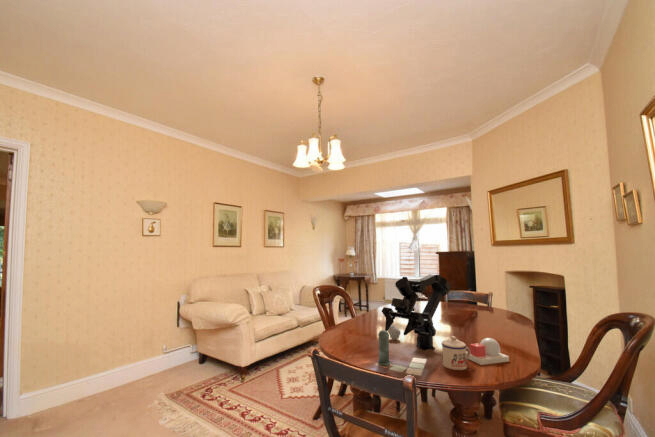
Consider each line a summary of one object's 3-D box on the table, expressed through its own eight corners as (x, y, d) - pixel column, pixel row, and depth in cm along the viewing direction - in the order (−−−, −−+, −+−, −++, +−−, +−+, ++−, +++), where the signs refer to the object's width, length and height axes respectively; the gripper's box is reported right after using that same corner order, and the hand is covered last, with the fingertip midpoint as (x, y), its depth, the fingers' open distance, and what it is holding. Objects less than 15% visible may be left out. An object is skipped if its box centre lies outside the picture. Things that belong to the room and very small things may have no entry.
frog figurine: (390, 337, 159) (390, 323, 160) (403, 339, 155) (402, 325, 156) (385, 339, 155) (385, 325, 156) (397, 342, 150) (397, 327, 151)
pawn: (389, 362, 122) (389, 329, 123) (390, 366, 117) (390, 331, 119) (377, 361, 122) (377, 328, 124) (378, 366, 118) (377, 331, 119)
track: (422, 357, 128) (422, 356, 128) (448, 373, 112) (448, 372, 112) (371, 363, 122) (371, 361, 122) (391, 381, 106) (391, 379, 106)
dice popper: (490, 353, 133) (489, 334, 134) (509, 361, 123) (507, 340, 124) (463, 356, 129) (462, 336, 130) (480, 365, 120) (479, 343, 121)
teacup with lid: (452, 373, 112) (451, 340, 114) (437, 364, 121) (436, 334, 122) (479, 369, 116) (477, 338, 117) (462, 361, 124) (461, 332, 125)
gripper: (383, 289, 138) (368, 317, 130) (419, 293, 125) (406, 325, 116) (393, 304, 143) (380, 332, 134) (430, 310, 129) (417, 341, 121)
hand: (394, 332), depth 126 cm, fingers open, 9 cm apart
